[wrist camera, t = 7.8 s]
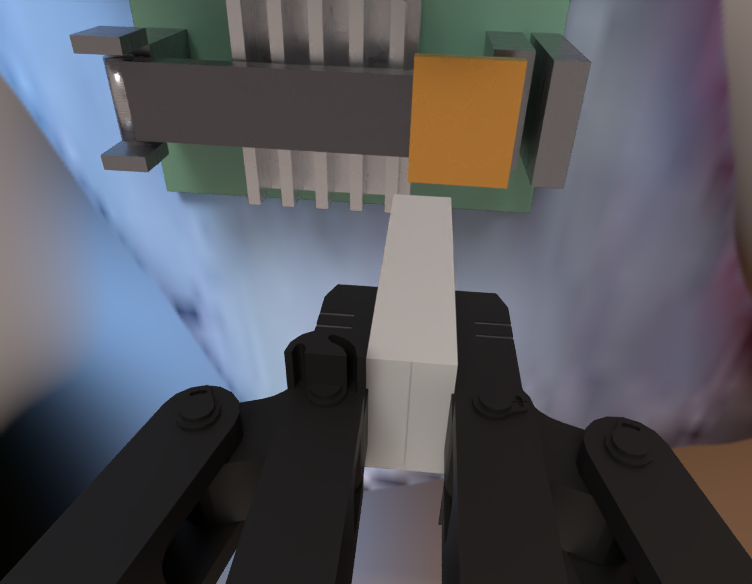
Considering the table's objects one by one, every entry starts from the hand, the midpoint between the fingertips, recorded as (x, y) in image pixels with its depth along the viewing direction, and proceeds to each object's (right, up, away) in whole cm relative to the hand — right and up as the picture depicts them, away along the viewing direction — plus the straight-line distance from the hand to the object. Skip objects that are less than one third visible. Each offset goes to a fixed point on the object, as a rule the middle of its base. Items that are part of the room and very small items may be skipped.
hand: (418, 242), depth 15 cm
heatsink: (-4, +12, +19) cm, 22 cm away
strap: (-5, +8, +14) cm, 17 cm away
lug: (+7, +11, +18) cm, 22 cm away
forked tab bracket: (-14, +12, +19) cm, 27 cm away
